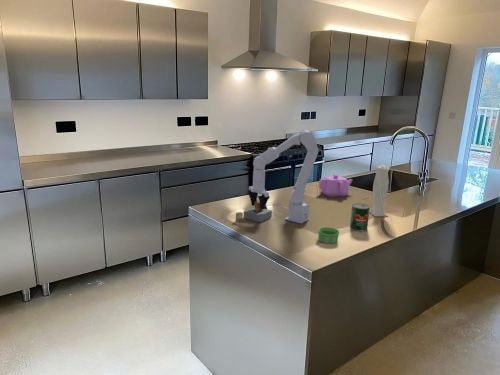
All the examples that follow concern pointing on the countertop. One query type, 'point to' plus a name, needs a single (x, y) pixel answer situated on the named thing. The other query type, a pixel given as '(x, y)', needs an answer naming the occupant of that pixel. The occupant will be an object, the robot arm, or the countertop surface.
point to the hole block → (257, 214)
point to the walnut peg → (257, 207)
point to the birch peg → (239, 216)
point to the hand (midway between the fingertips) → (258, 207)
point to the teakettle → (334, 186)
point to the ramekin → (328, 235)
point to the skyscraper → (380, 190)
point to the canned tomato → (359, 217)
